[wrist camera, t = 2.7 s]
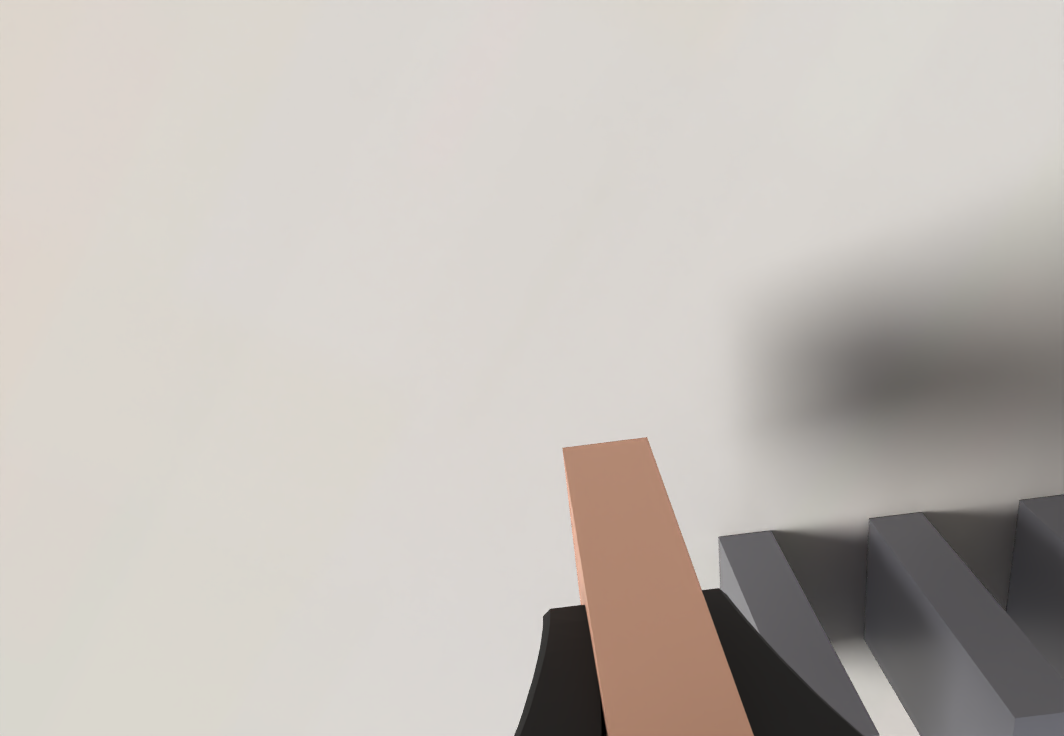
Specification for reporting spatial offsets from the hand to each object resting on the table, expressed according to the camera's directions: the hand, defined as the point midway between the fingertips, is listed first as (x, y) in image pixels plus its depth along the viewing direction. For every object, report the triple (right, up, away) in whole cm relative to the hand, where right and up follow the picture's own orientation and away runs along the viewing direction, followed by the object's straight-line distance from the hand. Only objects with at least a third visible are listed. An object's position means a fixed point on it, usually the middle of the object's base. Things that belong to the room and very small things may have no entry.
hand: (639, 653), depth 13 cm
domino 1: (0, +1, +3) cm, 3 cm away
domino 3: (+8, -2, +11) cm, 14 cm away
